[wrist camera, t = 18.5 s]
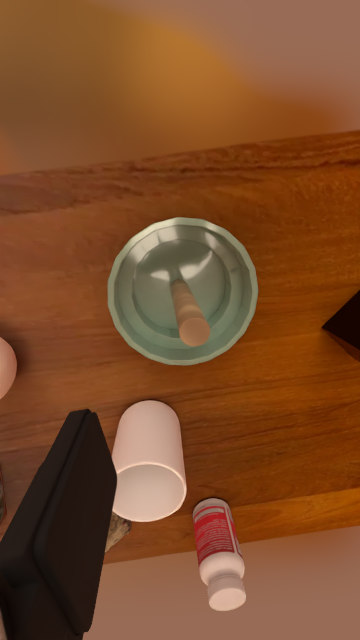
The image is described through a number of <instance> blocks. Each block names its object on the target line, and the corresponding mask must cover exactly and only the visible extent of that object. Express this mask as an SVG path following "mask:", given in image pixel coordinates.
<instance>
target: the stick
mask: <svg viewBox="0 0 360 640" xmlns="http://www.w3.org/2000/svg"><path fill="white" fill-rule="evenodd" d="M171 294H172V299H173V304H174V309H175V315H176V320H177V325H178V330H179V335H180V338H181V340H182V341H183V342H184V343H185V344H186V345H189V346H200V345H202V344H204V343H205V342H206V341H207V340H208V338H209V336H210V327H209V324H208V322H207V321H206V319H205V317H204V315H203V313H202V311H201V309H200V307H199V305H198V303H197V302H196V300H195V298H194V296H193V294H192V292H191V290H190V288H189V286H188V284H187V283H186V282H185V281H184V280H182V279H177V280H175V281H173V282H172V284H171Z"/></svg>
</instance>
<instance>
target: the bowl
mask: <svg viewBox="0 0 360 640" xmlns="http://www.w3.org/2000/svg"><path fill="white" fill-rule="evenodd" d="M177 279H182V280H184V281H185V282H186V283H187V284H188V286H189V288H190V290H191V292H192V294H193V296H194V298H195V300H196V302H197V303H198V305H199V307H200V309H201V311H202V313H203V315H204V317H205V319H206V321H207V322H208V324H209V327H210V336H209V338H208V340H207V341H206V342H205V343H204V344H202V345H200V346H189V345H186V344H185V343H184V342H183V341H182V340H181V338H180V335H179V330H178V325H177V320H176V315H175V309H174V304H173V299H172V294H171V284H172V282H173V281H175V280H177ZM257 296H258V284H257V277H256V270H255V267H254V265H253V263H252V261H251V259H250V257H249V255H248V253H247V251H246V249H245V247H244V246H243V245H242V244H241V243H240V242H239V241H238V240H237V239H236V238H235V237H234V236H233V235H232V234H230V233H229V232H228V231H227V230H226V229H224V228H222V227H219V226H217V225H215V224H213V223H210V222H208V221H206V220H203V219H193V218H182V217H177V218H173V219H169V220H165V221H161V222H157V223H153V224H151V225H150V226H148V227H147V228H145V229H144V230H142V231H141V232H139V233H138V234H136V235H135V236H133V237H132V238H131V239H130V240H129V241H128V242H127V244H126V245H125V246H124V248H123V249H122V250H121V252H120V253H119V254H118V256H117V257H116V259H115V261H114V264H113V267H112V270H111V273H110V276H109V279H108V308H109V310H110V313H111V316H112V319H113V322H114V325H115V327H116V329H117V330H118V331H119V333H120V334H121V335H122V337H123V338H124V339H125V341H126V342H127V343H128V345H130V346H131V347H132V348H134V349H135V350H137V351H138V352H139V353H141V354H142V355H144V356H145V357H147V358H149V359H152V360H155V361H158V362H161V363H164V364H167V365H193V364H197V363H201V362H205V361H209V360H212V359H213V358H215V357H217V356H218V355H220V354H222V353H224V352H225V351H227V350H229V349H230V348H231V347H232V346H233V345H234V344H235V343H236V342H237V340H238V339H239V338H240V337H241V336H242V335H243V334H244V333H245V331H246V329H247V327H248V325H249V323H250V321H251V319H252V317H253V316H254V313H255V308H256V302H257Z"/></svg>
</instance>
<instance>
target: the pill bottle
mask: <svg viewBox="0 0 360 640" xmlns="http://www.w3.org/2000/svg"><path fill="white" fill-rule="evenodd" d="M193 523H194V531H195V539H196V548H197V556H198V563H199V572H200V576H201V579H202V581H203V582H204V583H205V584H206V585H207V586H208V590H207V594H208V599H209V604H210V606H211V607H212V608H213V609H215V610H219V611H228V610H232V609H235V608H237V607H239V606H240V605H242V604H243V603H244V602H245V599H246V594H245V589H244V584H243V581H242V580H241V578H242V577H243V575H244V562H243V558H242V554H241V550H240V546H239V542H238V538H237V534H236V531H235V527H234V523H233V519H232V515H231V511H230V508H229V506H228V504H227V503H226V502H224V501H223V500H220V499H216V498H211V499H206V500H204V501H202V502H200V503H199V504H198V505H197V506H196V507H195V509H194V511H193Z"/></svg>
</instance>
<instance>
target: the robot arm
mask: <svg viewBox="0 0 360 640" xmlns="http://www.w3.org/2000/svg"><path fill="white" fill-rule="evenodd" d="M116 488H117V473H116V469H115V466H114V464H113V461H112V458H111V455H110V452H109V449H108V446H107V443H106V440H105V437H104V434H103V431H102V428H101V425H100V422H99V419H98V416H97V414H96V413H95V412H93V413H91V411H90V410H89V409H84V410H78V411H73V412H70V413H69V414H68V416H67V418H66V420H65V422H64V424H63V426H62V428H61V430H60V432H59V434H58V436H57V437H56V439H55V441H54V443H53V445H52V447H51V449H50V451H49V453H48V455H47V457H46V459H45V461H44V462H43V463H42V465H41V466H40V467H39V469H38V471H37V473H36V475H35V477H34V479H33V481H32V483H31V485H30V486H29V488H28V490H27V492H26V494H25V496H24V498H23V500H22V502H21V504H20V506H19V508H18V509H17V511H16V513H15V515H14V517H13V519H12V521H11V523H10V525H9V527H8V529H7V531H6V533H5V534H4V536H3V538H2V540H1V542H0V640H82V639H83V634H84V632H88V631H89V629H90V627H91V624H92V620H93V615H94V609H95V604H96V598H97V593H98V587H99V581H100V576H101V571H102V565H103V560H104V554H105V549H106V543H107V538H108V532H109V527H110V521H111V516H112V510H113V504H114V499H115V493H116Z"/></svg>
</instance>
